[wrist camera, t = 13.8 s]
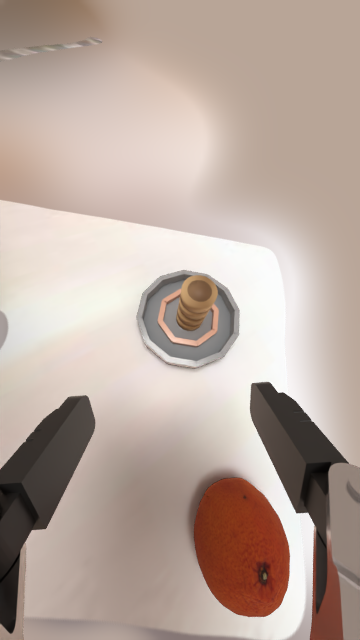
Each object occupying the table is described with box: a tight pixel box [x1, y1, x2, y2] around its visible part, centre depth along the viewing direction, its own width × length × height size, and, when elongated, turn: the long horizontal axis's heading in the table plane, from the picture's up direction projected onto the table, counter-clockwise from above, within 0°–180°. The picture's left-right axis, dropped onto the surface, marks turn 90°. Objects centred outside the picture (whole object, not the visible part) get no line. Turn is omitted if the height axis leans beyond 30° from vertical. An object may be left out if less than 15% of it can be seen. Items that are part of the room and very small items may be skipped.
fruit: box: [194, 478, 290, 617], centre depth 18 cm, size 9×9×8 cm
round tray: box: [136, 270, 239, 368], centre depth 29 cm, size 16×16×2 cm
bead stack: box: [176, 275, 218, 331], centre depth 25 cm, size 4×4×9 cm
